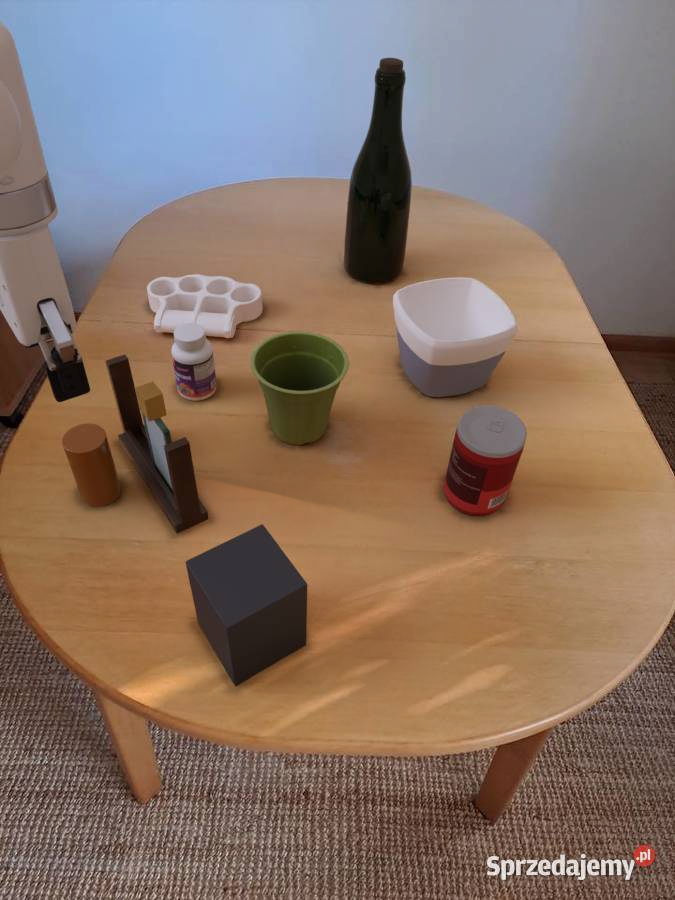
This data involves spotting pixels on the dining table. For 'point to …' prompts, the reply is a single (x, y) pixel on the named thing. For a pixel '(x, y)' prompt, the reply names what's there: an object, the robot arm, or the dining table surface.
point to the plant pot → (299, 382)
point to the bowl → (451, 334)
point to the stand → (249, 602)
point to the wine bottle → (380, 186)
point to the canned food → (483, 459)
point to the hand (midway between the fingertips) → (56, 368)
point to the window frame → (184, 500)
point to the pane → (155, 426)
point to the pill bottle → (193, 362)
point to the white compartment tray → (203, 303)
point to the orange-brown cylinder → (92, 464)
